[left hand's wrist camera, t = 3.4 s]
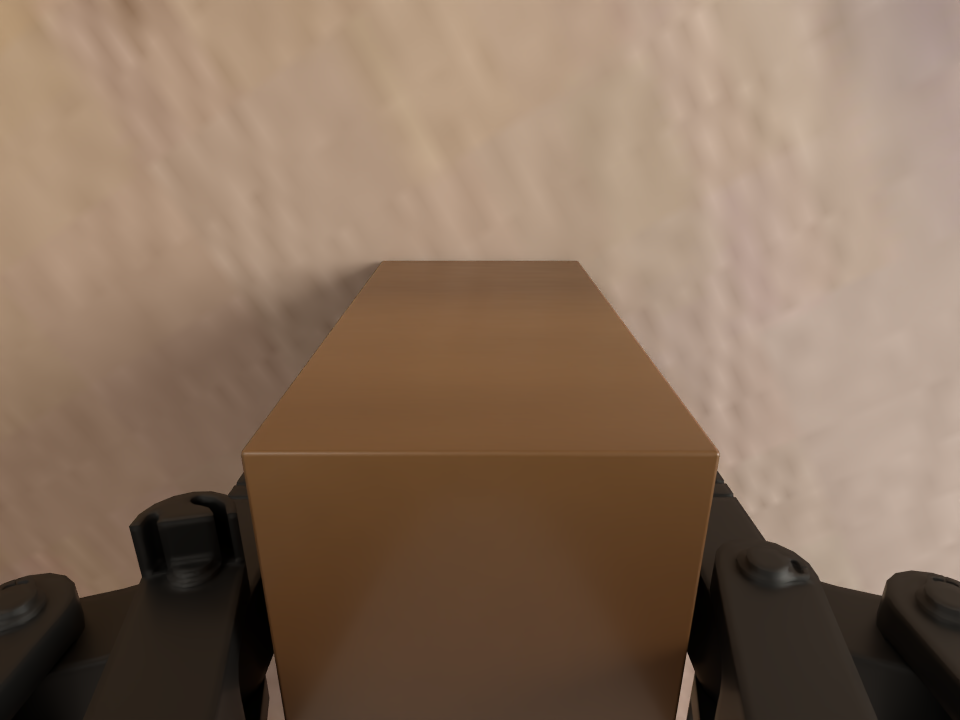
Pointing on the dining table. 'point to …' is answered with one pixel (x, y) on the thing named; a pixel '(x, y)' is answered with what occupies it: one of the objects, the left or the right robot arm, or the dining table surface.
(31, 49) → the dining table surface
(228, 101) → the dining table surface
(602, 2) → the dining table surface
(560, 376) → the bar
